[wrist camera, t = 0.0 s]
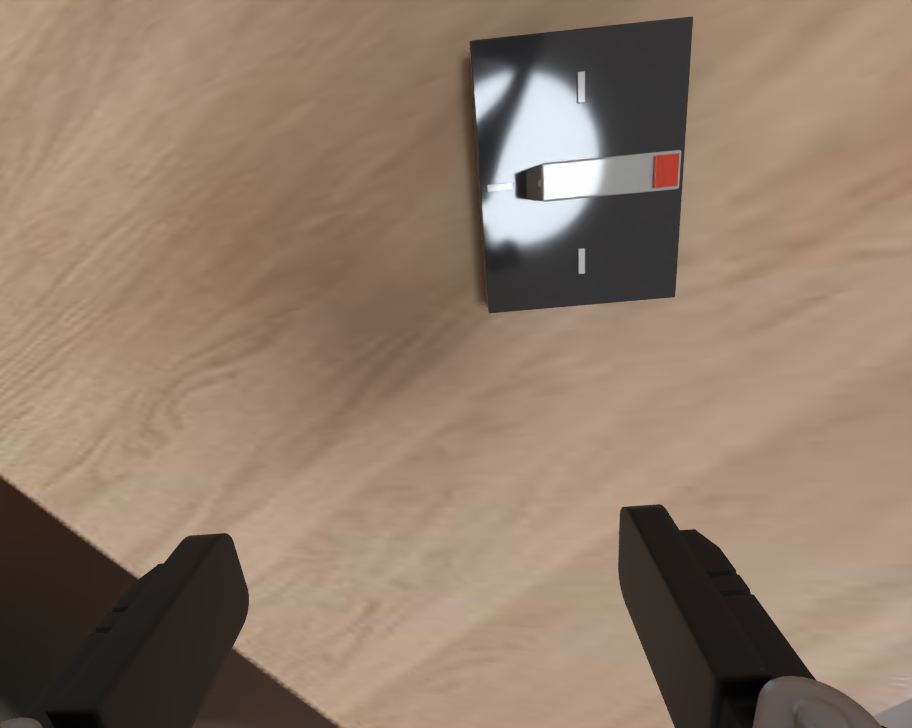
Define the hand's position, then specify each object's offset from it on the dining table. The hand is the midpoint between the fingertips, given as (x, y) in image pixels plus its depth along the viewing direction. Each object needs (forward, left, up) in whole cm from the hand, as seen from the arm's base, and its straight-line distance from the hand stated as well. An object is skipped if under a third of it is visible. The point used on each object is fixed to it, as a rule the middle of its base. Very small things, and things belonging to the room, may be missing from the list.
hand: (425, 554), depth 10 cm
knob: (-7, +8, -20) cm, 23 cm away
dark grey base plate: (-7, +8, -23) cm, 25 cm away
